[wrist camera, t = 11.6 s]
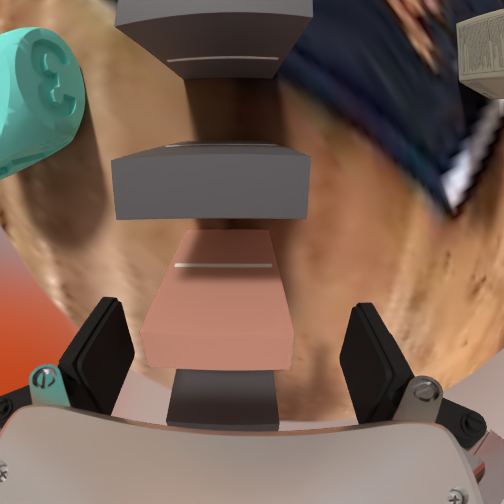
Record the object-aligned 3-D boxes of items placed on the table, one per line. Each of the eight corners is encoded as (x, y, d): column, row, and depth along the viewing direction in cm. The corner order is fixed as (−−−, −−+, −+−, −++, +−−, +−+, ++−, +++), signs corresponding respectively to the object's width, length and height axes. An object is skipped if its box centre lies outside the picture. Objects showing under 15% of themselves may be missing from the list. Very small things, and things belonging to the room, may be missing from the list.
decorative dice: (23, 172, 17) (-46, 199, 10) (6, 89, 14) (-61, 91, 7) (96, 131, 17) (23, 141, 9) (77, 39, 13) (10, 14, 6)
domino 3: (187, 229, 20) (139, 331, 10) (268, 229, 20) (294, 334, 10) (188, 253, 20) (148, 366, 10) (267, 253, 21) (289, 369, 11)
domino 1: (184, 54, 15) (121, -20, 5) (272, 53, 15) (311, -29, 5) (183, 79, 16) (114, 27, 6) (272, 79, 16) (313, 17, 6)
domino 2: (182, 141, 17) (110, 159, 7) (270, 140, 18) (310, 156, 7) (183, 168, 18) (116, 220, 8) (269, 168, 18) (306, 220, 8)
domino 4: (192, 302, 22) (166, 420, 12) (264, 302, 22) (279, 423, 12) (194, 320, 23) (172, 437, 13) (263, 321, 23) (276, 440, 13)
